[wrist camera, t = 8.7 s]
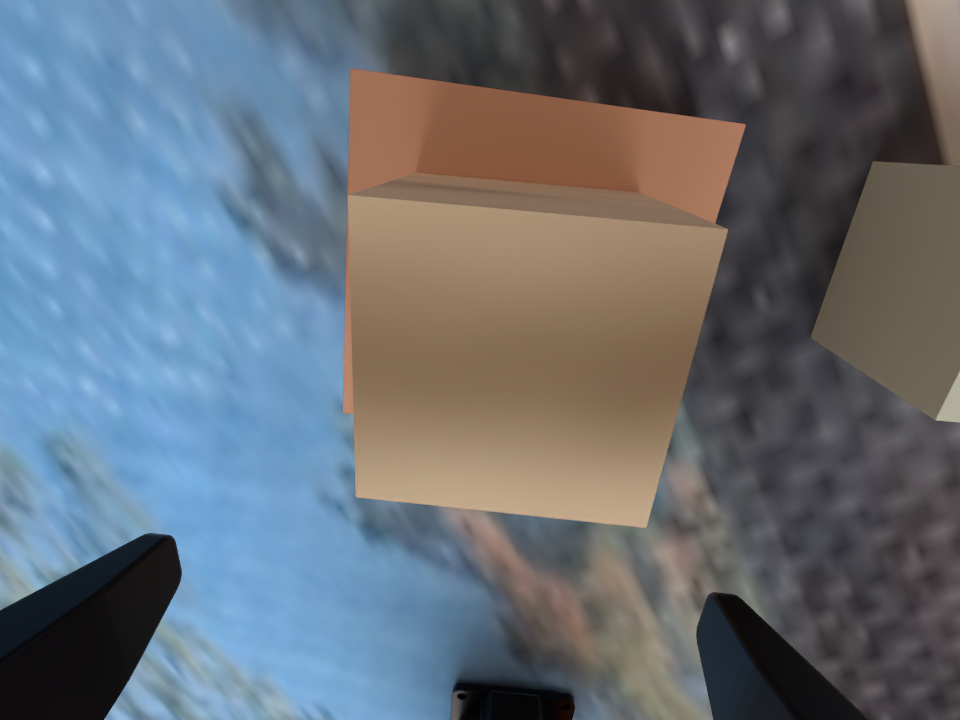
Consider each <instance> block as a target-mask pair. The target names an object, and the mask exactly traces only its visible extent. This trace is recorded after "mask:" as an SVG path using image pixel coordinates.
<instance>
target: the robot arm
mask: <svg viewBox="0 0 960 720" xmlns="http://www.w3.org/2000/svg"><path fill="white" fill-rule="evenodd" d="M181 575H182V570H181V565H180V560H179V555H178V551H177V546H176V542H175V539H174V538H173V537H172V536H170V535H164V534H155V533H148V534H144V535H142V536H140V537H138V538H136V539H134V540H132V541H131V542H129V543H127V544H125V545H123V546H121V547H119V548H117V549H115V550H114V551H112V552H110V553H108V554H106V555H104V556H102V557H100V558H98V559H96V560H95V561H93V562H91V563H89V564H87V565H85V566H83V567H81V568H79V569H78V570H76V571H74V572H72V573H70V574H68V575H66V576H64V577H62V578H60V579H59V580H57V581H55V582H53V583H51V584H49V585H47V586H45V587H43V588H42V589H40V590H38V591H36V592H34V593H32V594H30V595H28V596H26V597H24V598H23V599H21V600H19V601H17V602H15V603H13V604H11V605H9V606H7V607H5V608H4V609H2V610H0V720H104V719H105V717H106V716H107V714H108V713H109V711H110V709H111V708H112V706H113V705H114V703H115V702H116V700H117V698H118V697H119V695H120V694H121V692H122V691H123V689H124V687H125V686H126V684H127V682H128V681H129V679H130V677H131V676H132V674H133V672H134V670H135V668H136V667H137V665H138V663H139V661H140V659H141V657H142V655H143V653H144V652H145V650H146V648H147V646H148V644H149V642H150V640H151V638H152V636H153V634H154V632H155V630H156V629H157V627H158V625H159V623H160V621H161V619H162V617H163V615H164V613H165V611H166V609H167V608H168V606H169V604H170V602H171V600H172V598H173V596H174V594H175V592H176V590H177V588H178V586H179V584H180V581H181ZM696 637H697V644H698V649H699V654H700V658H701V663H702V668H703V673H704V677H705V682H706V687H707V691H708V696H709V701H710V705H711V710H712V715H713V719H714V720H870V719H868V718H867V717H866V716H865V715H864V714H863V713H862V712H861V711H860V710H859V709H858V708H857V707H856V706H855V705H854V704H853V703H851V702H850V701H849V700H848V699H847V698H846V697H845V696H844V695H843V694H842V693H841V692H840V691H839V690H838V689H837V688H835V687H834V686H833V685H832V684H831V683H830V682H829V681H828V680H827V679H826V678H825V677H824V676H823V675H822V674H821V673H820V672H818V671H817V670H816V669H815V668H814V667H813V666H812V665H811V664H810V663H809V662H808V661H807V660H806V659H805V658H804V657H803V656H801V655H800V654H799V653H798V652H797V651H796V650H795V649H794V648H793V647H792V646H791V645H790V644H789V643H788V642H787V641H785V640H784V639H783V638H782V637H781V636H780V635H779V634H778V633H777V632H776V631H775V630H774V629H773V628H772V627H771V626H770V625H768V624H767V623H766V622H765V621H764V620H763V619H762V618H761V617H760V616H759V615H758V614H757V613H756V612H755V611H754V610H752V609H751V608H750V607H749V606H748V605H747V604H746V603H745V602H744V601H743V600H742V599H741V598H739V597H738V596H736V595H733V594H725V593H716V592H713V593H710V594H709V595H708V597H707V599H706V602H705V605H704V608H703V611H702V614H701V617H700V620H699V622H698V626H697V632H696ZM574 710H575V705H574V698H573V696H571V695H570V694H565V693H555V692H545V691H536V690H526V689H516V688H506V687H497V686H487V685H477V684H468V683H458V684H456V685H455V686H454V688H453V695H452V711H451V720H572V719H573V714H574Z"/></svg>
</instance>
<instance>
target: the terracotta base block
mask: <svg viewBox="0 0 960 720" xmlns="http://www.w3.org/2000/svg"><path fill="white" fill-rule="evenodd" d="M745 126H746V124H740V123H733V122H726V121H719V120H711V119H704V118H697V117H690V116H683V115H676V114H669V113H662V112H655V111H648V110H641V109H634V108H627V107H620V106H612V105H605V104H598V103H591V102H584V101H577V100H570V99H563V98H556V97H549V96H542V95H535V94H528V93H521V92H513V91H506V90H499V89H492V88H485V87H478V86H471V85H464V84H457V83H450V82H443V81H436V80H429V79H422V78H414V77H407V76H400V75H393V74H386V73H379V72H372V71H365V70H358V69H351V71H350V117H349V162H348V195H349V194H352V193H355V192H358V191H361V190H364V189H368V188H371V187H374V186H377V185H380V184H383V183H386V182H389V181H392V180H395V179H398V178H401V177H404V176H407V175H410V174H413V173H426V174H437V175H449V176H460V177H471V178H482V179H494V180H505V181H516V182H527V183H539V184H550V185H561V186H573V187H584V188H595V189H606V190H618V191H629V192H640V193H643V194H645V195H647V196H650V197H652V198H655V199H657V200H659V201H662V202H664V203H666V204H669V205H671V206H674V207H676V208H678V209H681V210H683V211H686V212H688V213H690V214H693V215H695V216H698V217H700V218H702V219H705V220H707V221H710V222H712V223H714V224H715V222H716V219H717V216H718V213H719V209H720V206H721V203H722V200H723V197H724V193H725V190H726V187H727V184H728V180H729V177H730V174H731V171H732V168H733V164H734V161H735V158H736V155H737V152H738V148H739V145H740V142H741V139H742V136H743V132H744V129H745ZM343 413H347V414H354V410H353V373H352V335H351V298H350V260H349V223H348V207H347V253H346V298H345V344H344V389H343Z"/></svg>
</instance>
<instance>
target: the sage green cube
mask: <svg viewBox="0 0 960 720" xmlns="http://www.w3.org/2000/svg"><path fill="white" fill-rule="evenodd" d="M810 338H812V339H813V340H815V341H816V342H818V343H819V344H821V345H822V346H824V347H825V348H827V349H828V350H830V351H831V352H833V353H834V354H836V355H837V356H839V357H840V358H842V359H843V360H845V361H846V362H848V363H849V364H851V365H852V366H854V367H855V368H857V369H858V370H860V371H862V372H863V373H865V374H866V375H868V376H869V377H871V378H872V379H874V380H875V381H877V382H878V383H880V384H881V385H883V386H884V387H886V388H887V389H889V390H890V391H892V392H893V393H895V394H896V395H898V396H899V397H901V398H902V399H904V400H905V401H907V402H908V403H910V404H911V405H913V406H914V407H916V408H917V409H919V410H920V411H922V412H923V413H925V414H926V415H928V416H930V417H931V418H933V419H934V420H938V421H950V422H960V166H948V165H930V164H912V163H894V162H876V161H873V163H872V166H871V168H870V171H869V174H868V177H867V180H866V183H865V185H864V188H863V191H862V194H861V197H860V199H859V202H858V205H857V208H856V211H855V213H854V216H853V219H852V222H851V225H850V227H849V230H848V233H847V236H846V239H845V241H844V244H843V247H842V250H841V253H840V255H839V258H838V261H837V264H836V267H835V270H834V272H833V275H832V278H831V281H830V284H829V286H828V289H827V292H826V295H825V298H824V300H823V303H822V306H821V309H820V312H819V314H818V317H817V320H816V323H815V326H814V328H813V331H812V334H811V337H810Z"/></svg>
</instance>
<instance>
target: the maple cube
mask: <svg viewBox="0 0 960 720" xmlns="http://www.w3.org/2000/svg"><path fill="white" fill-rule="evenodd" d="M348 223H349V260H350V298H351V335H352V373H353V410H354V448H355V485H356V497H359V498H368V499H378V500H387V501H396V502H406V503H415V504H425V505H434V506H444V507H453V508H462V509H472V510H481V511H491V512H500V513H510V514H519V515H529V516H538V517H547V518H557V519H566V520H576V521H585V522H595V523H604V524H614V525H623V526H632V527H642V528H646V527H647V523H648V520H649V516H650V512H651V509H652V505H653V502H654V498H655V494H656V491H657V487H658V483H659V480H660V476H661V472H662V469H663V465H664V462H665V458H666V454H667V451H668V447H669V443H670V440H671V436H672V432H673V429H674V425H675V422H676V418H677V414H678V411H679V407H680V403H681V400H682V396H683V392H684V389H685V385H686V381H687V378H688V374H689V371H690V367H691V363H692V360H693V356H694V352H695V349H696V345H697V341H698V338H699V334H700V331H701V327H702V323H703V320H704V316H705V312H706V309H707V305H708V301H709V298H710V294H711V291H712V287H713V283H714V280H715V276H716V272H717V269H718V265H719V261H720V258H721V254H722V251H723V247H724V243H725V240H726V236H727V232H728V229H726V228H724V227H721V226H719V225H717V224H714V223H712V222H710V221H707V220H705V219H702V218H700V217H698V216H695V215H693V214H690V213H688V212H686V211H683V210H681V209H678V208H676V207H674V206H671V205H669V204H666V203H664V202H662V201H659V200H657V199H655V198H652V197H650V196H647V195H645V194H643V193H640V192H629V191H618V190H606V189H595V188H584V187H573V186H561V185H550V184H539V183H527V182H516V181H505V180H494V179H482V178H471V177H460V176H449V175H437V174H426V173H413V174H410V175H407V176H404V177H401V178H398V179H395V180H392V181H389V182H386V183H383V184H380V185H377V186H374V187H371V188H368V189H364V190H361V191H358V192H355V193H352V194H349V195H348Z"/></svg>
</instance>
